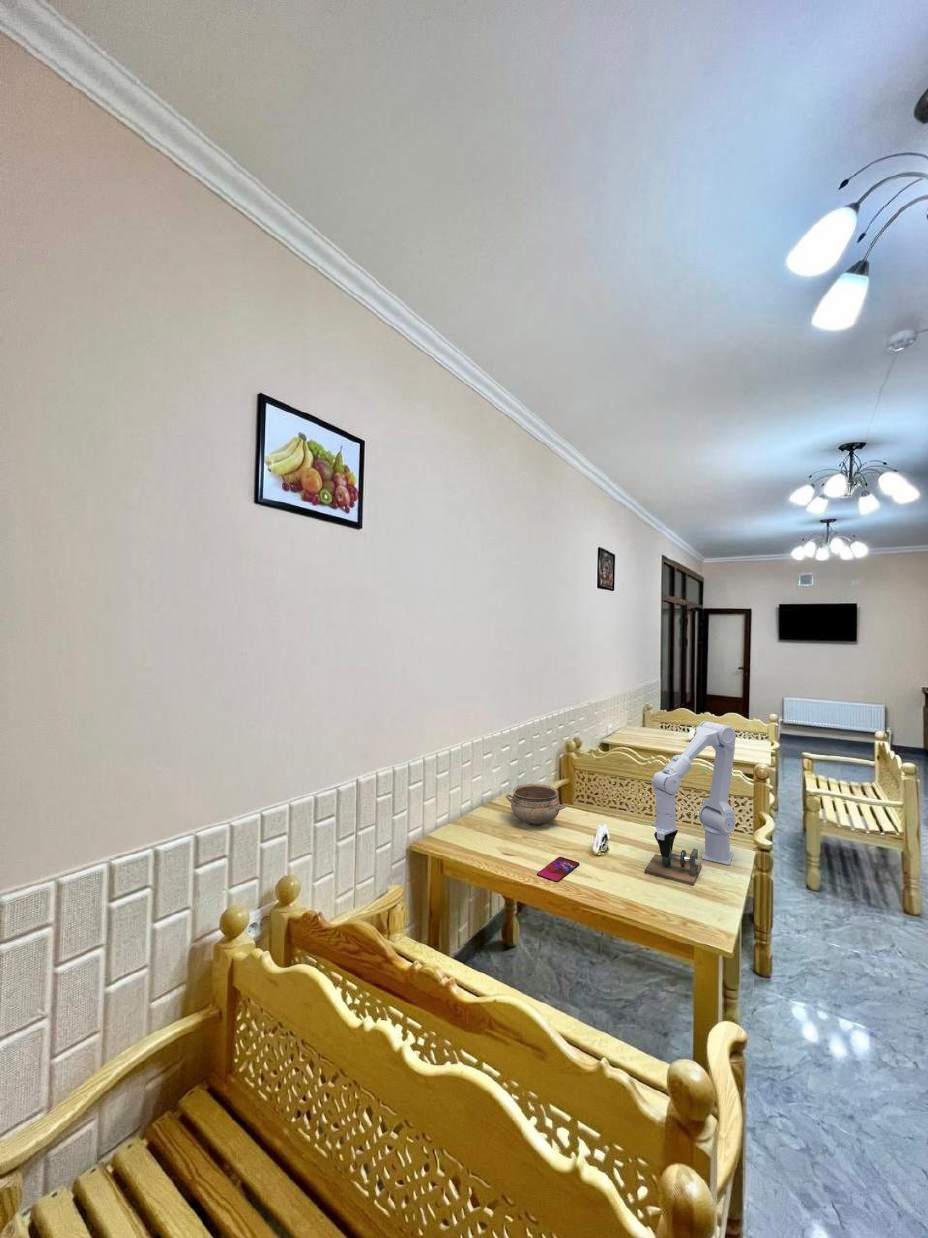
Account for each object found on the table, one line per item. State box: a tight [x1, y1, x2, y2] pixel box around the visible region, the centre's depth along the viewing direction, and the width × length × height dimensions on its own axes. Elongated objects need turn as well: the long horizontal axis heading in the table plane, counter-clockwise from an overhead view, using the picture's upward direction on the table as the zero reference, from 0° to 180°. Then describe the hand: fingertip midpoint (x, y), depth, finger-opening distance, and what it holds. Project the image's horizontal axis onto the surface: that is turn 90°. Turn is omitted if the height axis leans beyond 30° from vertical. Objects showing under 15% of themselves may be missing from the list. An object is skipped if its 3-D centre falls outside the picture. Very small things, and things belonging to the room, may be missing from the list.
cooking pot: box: [505, 783, 568, 827], centre depth 197 cm, size 25×19×12 cm
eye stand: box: [644, 847, 702, 887], centre depth 158 cm, size 13×14×7 cm
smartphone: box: [536, 856, 580, 883], centre depth 159 cm, size 8×1×15 cm
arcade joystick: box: [662, 848, 703, 868], centre depth 156 cm, size 5×11×8 cm, turn 55°
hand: (666, 854), depth 159 cm, fingers closed on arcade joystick, 3 cm apart
